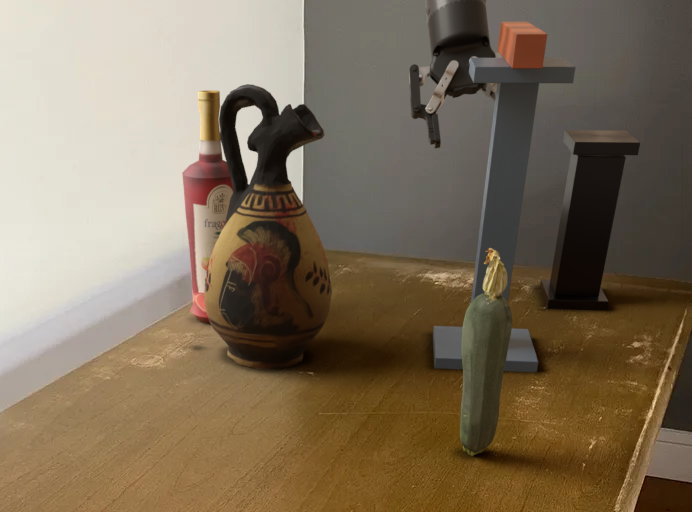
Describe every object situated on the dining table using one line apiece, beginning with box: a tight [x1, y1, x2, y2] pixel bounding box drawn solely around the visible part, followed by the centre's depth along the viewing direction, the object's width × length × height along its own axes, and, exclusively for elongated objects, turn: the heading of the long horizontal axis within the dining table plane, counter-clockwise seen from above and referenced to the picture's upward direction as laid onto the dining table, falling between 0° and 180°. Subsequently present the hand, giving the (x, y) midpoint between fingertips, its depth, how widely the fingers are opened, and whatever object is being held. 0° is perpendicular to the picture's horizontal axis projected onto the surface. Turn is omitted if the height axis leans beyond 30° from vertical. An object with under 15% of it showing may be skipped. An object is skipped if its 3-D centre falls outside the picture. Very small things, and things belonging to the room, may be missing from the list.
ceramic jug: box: [204, 83, 333, 370], centre depth 112 cm, size 17×15×30 cm
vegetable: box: [459, 248, 513, 457], centre depth 90 cm, size 4×4×20 cm
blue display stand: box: [432, 57, 576, 373], centre depth 111 cm, size 12×12×32 cm
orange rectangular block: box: [497, 21, 548, 69], centre depth 103 cm, size 20×3×3 cm, turn 172°
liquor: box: [181, 89, 233, 324], centre depth 125 cm, size 7×7×28 cm
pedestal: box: [539, 129, 641, 312], centre depth 131 cm, size 10×8×22 cm
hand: (470, 139), depth 126 cm, fingers open, 8 cm apart
